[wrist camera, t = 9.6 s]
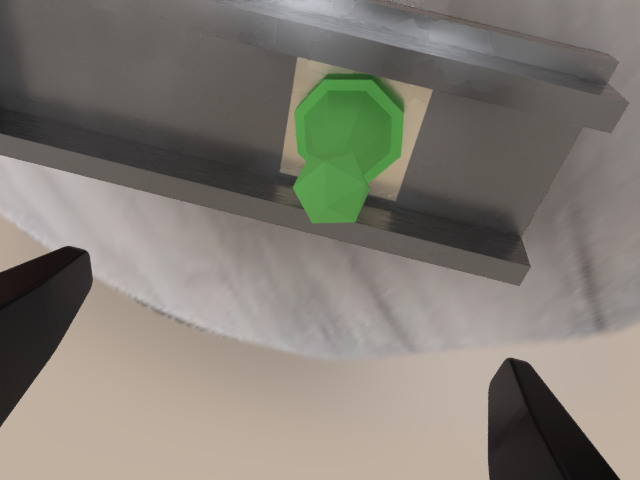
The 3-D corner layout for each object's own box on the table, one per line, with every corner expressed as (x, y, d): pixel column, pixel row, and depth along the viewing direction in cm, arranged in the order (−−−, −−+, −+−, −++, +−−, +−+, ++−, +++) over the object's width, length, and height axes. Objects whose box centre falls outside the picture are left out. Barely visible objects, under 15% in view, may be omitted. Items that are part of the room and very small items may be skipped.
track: (608, 54, 16) (642, 79, 14) (500, 254, 21) (511, 298, 19) (-53, -104, 17) (-133, -107, 14) (2, 129, 22) (-49, 156, 20)
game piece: (427, 97, 17) (433, 171, 12) (378, 192, 19) (366, 285, 15) (317, 49, 17) (277, 106, 12) (281, 152, 19) (236, 234, 14)
